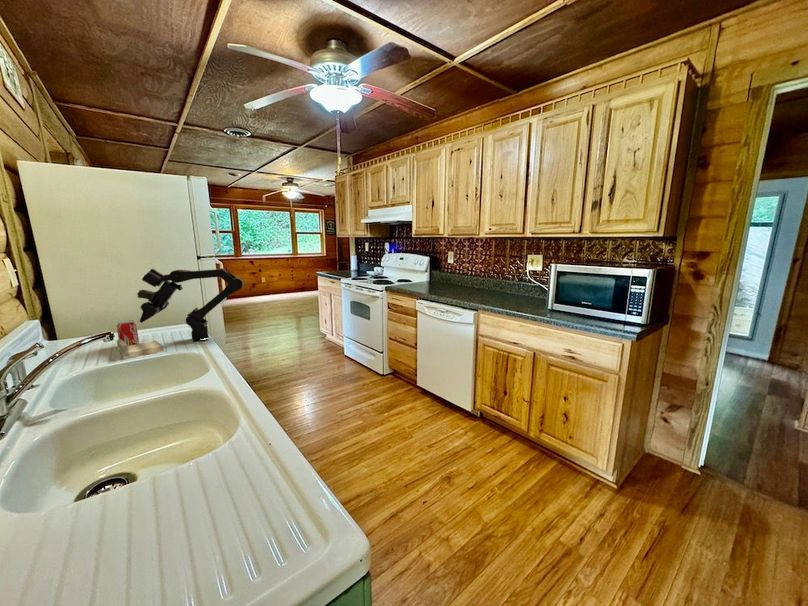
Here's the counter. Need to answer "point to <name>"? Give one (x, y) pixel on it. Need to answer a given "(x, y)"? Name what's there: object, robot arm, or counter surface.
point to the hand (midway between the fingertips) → (144, 319)
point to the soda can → (128, 332)
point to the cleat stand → (138, 349)
